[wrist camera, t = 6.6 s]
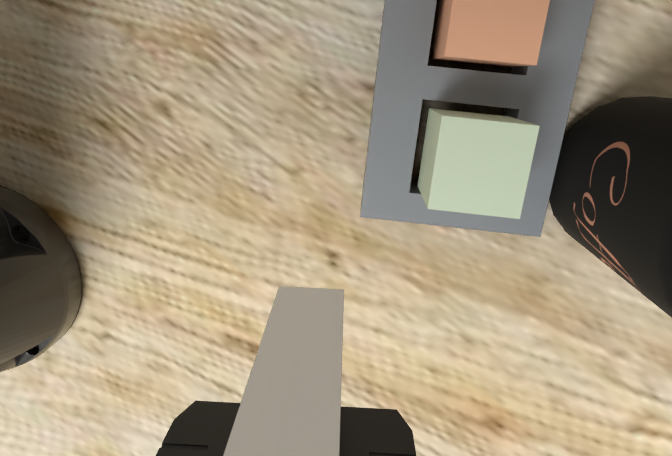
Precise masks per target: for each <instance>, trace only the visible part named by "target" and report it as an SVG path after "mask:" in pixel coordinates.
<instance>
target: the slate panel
mask: <svg viewBox="0 0 672 456" xmlns="http://www.w3.org/2000/svg"><path fill="white" fill-rule="evenodd" d="M594 1H595V0H550V2H549V7H548V12H547V17H546V22H545V27H544V32H543V37H542V41H541V46H540V51H539V56H538V61H537V65H534V66H513V67H512V72H511V74H505V73H495V72H485V71H475V70H466V69H456V68H446V67H436V66H427V65H428V58H429V51H430V44H431V37H432V30H433V23H434V17H435V10H436V3H437V0H385V2H384V11H383V20H382V28H381V37H380V46H379V54H378V63H377V72H376V80H375V89H374V97H373V106H372V115H371V123H370V132H369V141H368V149H367V158H366V167H365V175H364V184H363V192H362V201H361V214H360V217H365V218H374V219H383V220H392V221H401V222H410V223H419V224H428V225H437V226H446V227H455V228H464V229H473V230H482V231H491V232H500V233H509V234H518V235H527V236H536V237H540V236H541V232H542V228H543V223H544V219H545V215H546V210H547V206H548V202H549V197H550V193H551V188H552V184H553V180H554V175H555V171H556V167H557V162H558V158H559V153H560V149H561V145H562V140H563V136H564V132H565V127H566V123H567V119H568V114H569V110H570V105H571V101H572V97H573V92H574V88H575V84H576V79H577V75H578V70H579V66H580V62H581V57H582V53H583V49H584V44H585V40H586V36H587V31H588V27H589V22H590V18H591V14H592V9H593V5H594ZM423 99H425V100H435V101H444V102H454V103H464V104H473V105H483V106H493V107H502V108H505V109H504V114H503V116H509V117H513V118H516V119H519V120H522V121H526V122H529V123H532V124H535V125H539V126H540V127H539V132H538V136H537V141H536V146H535V150H534V155H533V160H532V164H531V169H530V174H529V178H528V183H527V188H526V192H525V197H524V202H523V206H522V211H521V216H520V219H514V218H505V217H496V216H487V215H478V214H469V213H460V212H451V211H442V210H433V209H427V207H426V204H425V202H424V200H423V197H422V195H421V193H420V190H419V188H418V183H411V176H412V169H413V163H414V156H415V149H416V142H417V135H418V128H419V121H420V114H421V107H422V100H423Z"/></svg>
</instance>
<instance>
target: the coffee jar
mask: <svg viewBox="0 0 672 456" xmlns="http://www.w3.org/2000/svg"><path fill="white" fill-rule="evenodd" d="M549 201H550V204H551V208H552V211H553V215H554V216H555V217H556V219H557V220H558V222H559V223H560V224H561V226H562V227H563V228H564V230H565V231H566V232H567V233H568V234H569V235H570V236H571V237H573V238H574V239H575V240H576V241H578V242H579V243H580V244H581V245H583V246H584V247H585V248H586V249H588V250H589V251H590V252H591V253H592V254H594V255H595V256H596V257H597V258H599V259H600V260H601V261H602V262H604V263H605V264H606V265H607V266H609V267H610V268H611V269H612V270H614V271H615V272H616V273H617V274H618V275H620V276H621V277H622V278H623V279H625V280H626V281H627V282H628V283H630V284H631V285H632V286H633V287H635V288H636V289H637V290H638V291H640V292H641V293H642V294H643V295H645V296H646V297H647V298H648V299H649V300H651V301H652V302H653V303H654V304H656V305H657V306H658V307H659V308H661V309H662V310H663V311H664V312H666V313H667V314H668V315H669V316H671V317H672V98H662V97H633V98H622V99H619V100H617V101H614V102H611V103H608V104H606V105H603V106H600V107H597V108H596V109H595V110H593V111H592V112H591V113H589V114H588V115H586V116H585V117H584V118H582V119H581V120H579V121H578V122H577V123H575V124H574V126H573V127H572V128H571V129H570V131H569V132H568V133H567V135H566V136H565V137H564V138H563V140H562V145H561V149H560V153H559V158H558V162H557V167H556V171H555V175H554V180H553V184H552V188H551V193H550V197H549Z"/></svg>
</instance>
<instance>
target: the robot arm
mask: <svg viewBox="0 0 672 456" xmlns="http://www.w3.org/2000/svg"><path fill="white" fill-rule="evenodd" d="M80 301H81V276H80V270H79V266H78V263H77V260H76V257H75V254H74V252H73V250H72V248H71V246H70V244H69V242H68V240H67V238H66V237H65V235H64V234H63V232H62V231H61V230H60V228H59V227H58V226H57V224H56V223H55V222H54V221H53V220H52V219H51V218H50V217H49V216H48V215H47V214H46V213H45V212H44V211H43V210H42V209H41V208H39V207H38V206H37V205H36V204H34V203H33V202H31V201H30V200H28V199H27V198H25V197H24V196H22V195H20V194H18V193H16V192H14V191H12V190H10V189H7V188H5V187H2V186H0V372H3V371H5V370H8V369H11V368H14V367H17V366H20V365H22V364H25V363H27V362H29V361H31V360H33V359H34V358H36V357H38V356H39V355H41V354H42V353H44V352H45V351H46V350H47V349H48V348H50V347H51V346H52V345H53V344H54V343H55V342H57V341H58V340H59V339H60V338H61V337H62V336H63V335H64V334H65V333H66V332H67V331H68V329H69V328H70V326H71V325H72V323H73V321H74V320H75V317H76V315H77V312H78V309H79V306H80ZM343 308H344V290H342V289H323V288H303V287H284V286H279V289H278V292H277V295H276V298H275V301H274V304H273V307H272V310H271V313H270V316H269V319H268V322H267V325H266V328H265V331H264V334H263V337H262V340H261V343H260V346H259V349H258V352H257V355H256V358H255V361H254V364H253V367H252V370H251V373H250V376H249V379H248V382H247V385H246V388H245V391H244V394H243V397H242V401H241V403H226V402H208V401H195V402H194V403H193V404H191V405H190V406H189V407H188V408H187V409H186V410H185V411H183V412H182V413H181V414H180V415H179V416H178V417H177V418H175V419H174V421H173V423H172V425H171V427H170V429H169V431H168V433H167V435H166V437H165V439H164V441H163V442H162V447H161V448H159V450H158V452H157V454H156V456H416V451H415V445H414V439H413V433H412V430H411V428H410V427H409V426H408V424H407V423H406V422H405V420H404V419H403V418H402V416H401V415H400V414H399V412H398V411H397V410H392V409H374V408H355V407H341V376H342V342H343Z"/></svg>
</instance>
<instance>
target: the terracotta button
mask: <svg viewBox="0 0 672 456" xmlns="http://www.w3.org/2000/svg"><path fill="white" fill-rule="evenodd" d="M549 2H550V0H440V5H439V12H438V19H437V26H436V32H435V39H434V46H433V53H432V59H436V60H446V61H455V62H465V63H475V64H485V65H495V66H505V67H513V66H534V65H537V61H538V56H539V51H540V46H541V41H542V37H543V32H544V27H545V22H546V17H547V12H548V7H549Z"/></svg>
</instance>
